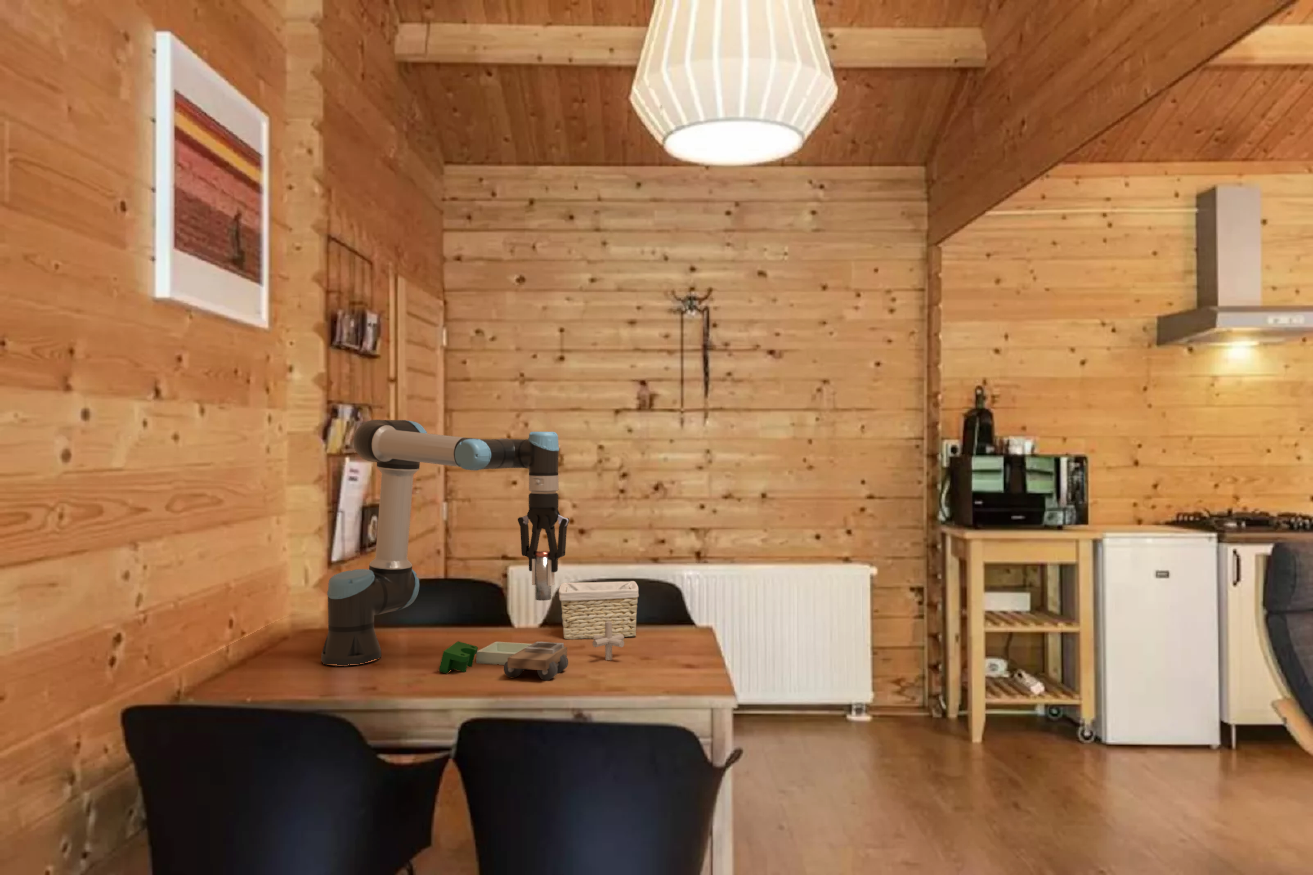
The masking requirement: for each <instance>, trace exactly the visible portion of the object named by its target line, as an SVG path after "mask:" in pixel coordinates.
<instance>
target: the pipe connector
mask: <svg viewBox="0 0 1313 875" xmlns="http://www.w3.org/2000/svg"><path fill="white" fill-rule="evenodd" d="M624 640H625V637H624V636H623V634H619V635H615V636H612V622H610V621H607V622H605V637H604V636H600V635H595V636H594V638H593V641H592V646H593V648H598V647H602V646H605V647H604V649H605V650H604V653H605V656H604V658H605V661H607V660H610V661H612V660H613V646H614V647H619V648H623V647H624V646H625V641H624Z"/></svg>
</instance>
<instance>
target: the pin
mask: <svg viewBox="0 0 1313 875" xmlns="http://www.w3.org/2000/svg"><path fill="white" fill-rule="evenodd" d="M550 558H551V557H550V551H549V550H537V551H536V552H535V585H534V586H535V589H534V590H535V592H534V595H535V596H534V597H535V598H534V600H535V601H550V600H552V586H548V560H550Z"/></svg>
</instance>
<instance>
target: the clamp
mask: <svg viewBox="0 0 1313 875" xmlns="http://www.w3.org/2000/svg"><path fill="white" fill-rule="evenodd" d="M478 650H479V647H478V646H476V645H473V644H469V643H466V642H462V641H459V640H458V641H456V642H455V643H453V644H452V645H450V646H449V647H448V648H445V649H444V650H443V651H442V652H443V653H442V655H441V660H440V664H439V669H438V671H439V672H440V673H443V674H446V673H448V672H449V671H450V670H451V671H453V670H456V671H459V672H463V673H465V672H467V668H468V667H471V668H472V667H473V664H474V660H475V657H476V654H477V651H478ZM452 669H453V670H452ZM451 671H450V672H451ZM450 672H449V673H450ZM449 673H448V674H449Z"/></svg>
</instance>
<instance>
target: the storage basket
mask: <svg viewBox="0 0 1313 875" xmlns="http://www.w3.org/2000/svg"><path fill="white" fill-rule="evenodd" d="M558 595H559V596H558V597H559V600H558V601H560V604H561V613H562V614H561V619H562V627H563V629H562V630H563V631H562V632H563V638H564V639H565V640H577V639H579V640H580V639H581V640H582V639H588V640H590V639H591V640H592V639H593V638H594V636H595V635H600V636H604V637H605V622H607V621H610V622H612V636H615V635H619V634H623V636H624V638H625V637H626V638H627V637H636V636H637V613H638V611H637V610H638V601H639V600H638V598H639V597H640V594H639V585H638V584H637V582H636V581H634V580H630V581H596V582H595V581H594V582H590V581H589V582H586V581H585V582H562V583H561V584H560V586H559V589H558ZM593 640H594V639H593Z"/></svg>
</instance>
